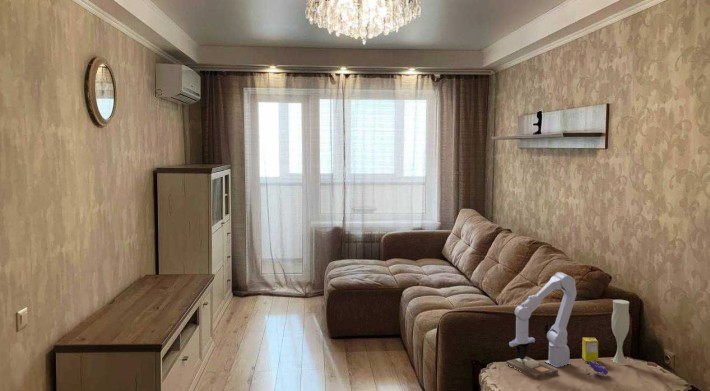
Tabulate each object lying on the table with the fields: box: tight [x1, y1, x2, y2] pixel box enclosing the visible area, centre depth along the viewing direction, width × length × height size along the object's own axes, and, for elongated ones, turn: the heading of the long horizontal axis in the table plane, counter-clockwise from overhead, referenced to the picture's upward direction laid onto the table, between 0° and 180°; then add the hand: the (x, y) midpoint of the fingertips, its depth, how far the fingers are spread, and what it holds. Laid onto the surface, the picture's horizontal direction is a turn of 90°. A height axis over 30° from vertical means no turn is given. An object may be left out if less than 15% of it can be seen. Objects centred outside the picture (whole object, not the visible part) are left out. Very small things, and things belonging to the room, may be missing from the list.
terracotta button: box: [535, 367, 549, 373], centre depth 261 cm, size 4×4×2 cm
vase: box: [611, 299, 630, 363], centre depth 274 cm, size 9×8×30 cm
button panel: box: [505, 355, 559, 381], centre depth 267 cm, size 13×20×2 cm, turn 27°
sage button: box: [514, 357, 527, 364], centre depth 272 cm, size 4×4×2 cm
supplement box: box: [581, 336, 599, 363], centre depth 277 cm, size 6×6×11 cm
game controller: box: [587, 358, 609, 381], centre depth 260 cm, size 10×8×10 cm
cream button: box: [525, 359, 540, 368], centre depth 267 cm, size 4×4×2 cm
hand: (521, 358), depth 272 cm, fingers closed
